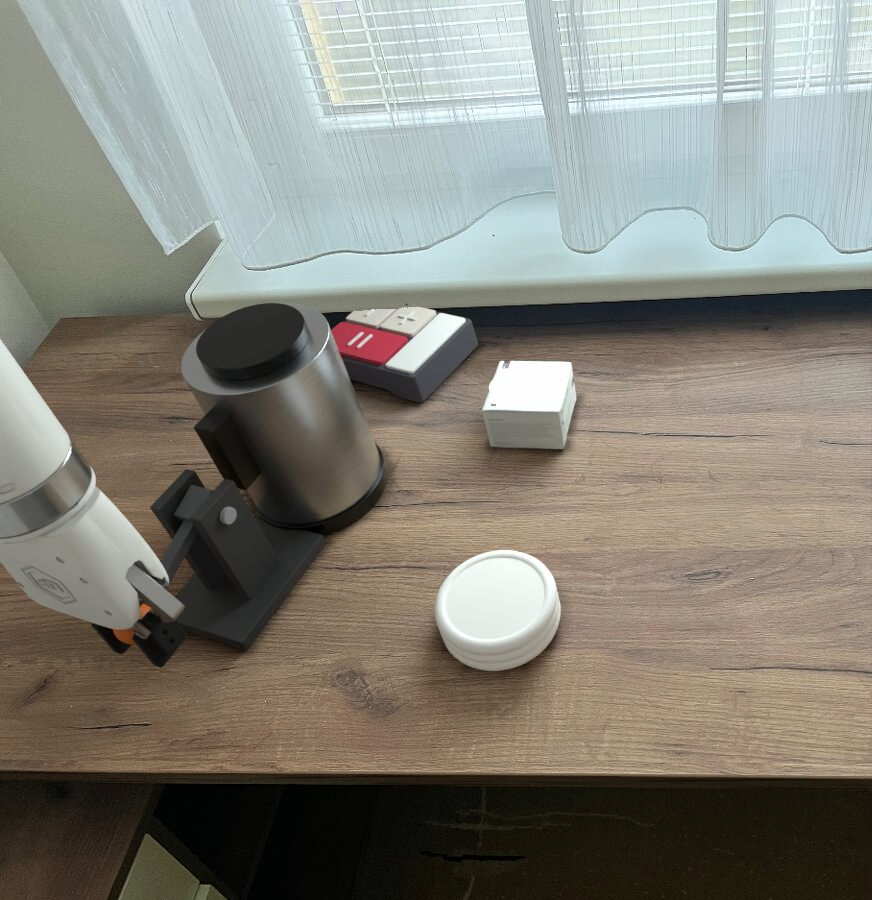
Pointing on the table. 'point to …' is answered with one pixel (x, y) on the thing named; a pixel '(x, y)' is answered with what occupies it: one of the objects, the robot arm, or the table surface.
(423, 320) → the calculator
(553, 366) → the small box
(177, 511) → the switch lever
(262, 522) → the switch base
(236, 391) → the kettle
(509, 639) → the white jar lid
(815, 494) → the table surface
